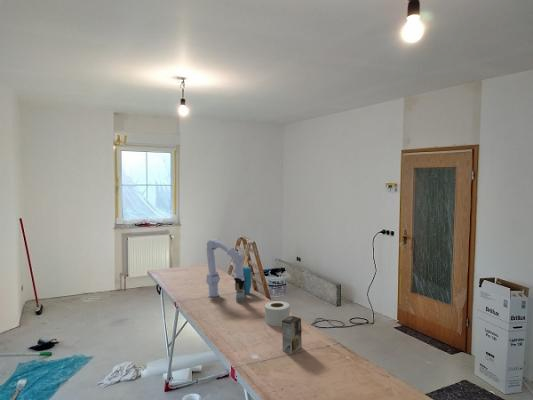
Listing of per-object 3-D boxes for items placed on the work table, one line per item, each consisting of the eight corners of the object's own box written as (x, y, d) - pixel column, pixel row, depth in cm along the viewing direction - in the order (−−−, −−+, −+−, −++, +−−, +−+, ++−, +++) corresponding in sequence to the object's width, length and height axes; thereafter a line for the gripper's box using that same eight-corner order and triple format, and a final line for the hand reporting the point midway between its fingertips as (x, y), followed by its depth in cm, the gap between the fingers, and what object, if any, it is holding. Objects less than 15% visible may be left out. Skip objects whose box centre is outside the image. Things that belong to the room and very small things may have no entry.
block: (249, 291, 309) (248, 266, 308) (251, 293, 304) (251, 268, 303) (235, 293, 304) (234, 268, 303) (237, 295, 300) (236, 269, 298)
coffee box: (292, 344, 209) (291, 315, 208) (302, 347, 205) (301, 317, 204) (282, 350, 202) (281, 320, 201) (292, 354, 198) (291, 323, 197)
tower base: (235, 299, 289) (235, 295, 289) (243, 299, 290) (243, 294, 290) (236, 302, 283) (236, 297, 283) (244, 301, 284) (244, 297, 284)
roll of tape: (287, 327, 234) (287, 309, 233) (262, 325, 237) (262, 308, 236) (291, 317, 249) (291, 301, 248) (267, 316, 252) (267, 300, 252)
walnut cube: (235, 289, 287) (235, 283, 286) (241, 288, 289) (241, 282, 289) (237, 291, 282) (237, 284, 282) (244, 290, 284) (243, 283, 284)
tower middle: (236, 295, 289) (236, 290, 289) (244, 294, 289) (244, 290, 289) (236, 297, 283) (236, 292, 283) (244, 297, 283) (244, 292, 283)
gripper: (230, 268, 290) (231, 286, 290) (237, 272, 277) (238, 291, 277) (239, 267, 293) (239, 285, 293) (246, 271, 280) (247, 290, 280)
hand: (239, 288), depth 286 cm, fingers closed on walnut cube, 5 cm apart
